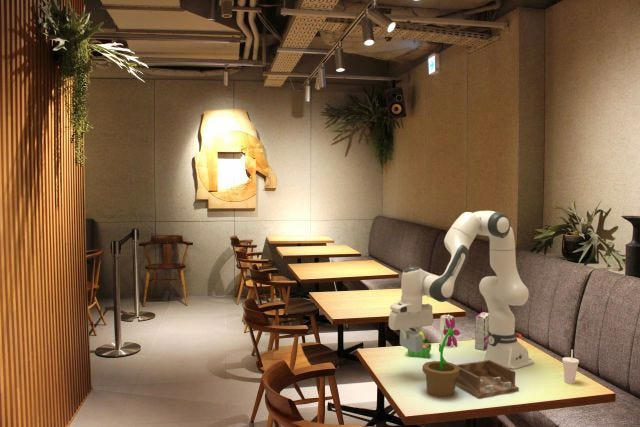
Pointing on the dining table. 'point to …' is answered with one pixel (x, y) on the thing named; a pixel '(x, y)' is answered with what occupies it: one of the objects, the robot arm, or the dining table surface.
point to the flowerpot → (443, 368)
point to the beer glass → (443, 326)
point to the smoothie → (570, 368)
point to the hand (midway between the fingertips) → (411, 337)
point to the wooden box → (486, 379)
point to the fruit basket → (425, 349)
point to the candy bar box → (481, 331)
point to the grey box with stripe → (412, 341)
